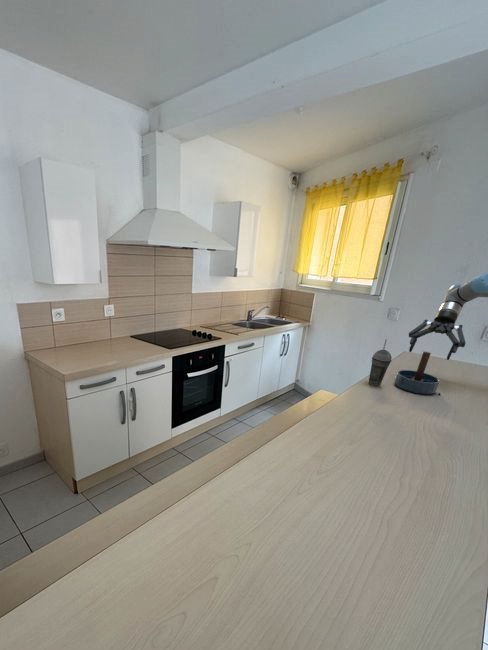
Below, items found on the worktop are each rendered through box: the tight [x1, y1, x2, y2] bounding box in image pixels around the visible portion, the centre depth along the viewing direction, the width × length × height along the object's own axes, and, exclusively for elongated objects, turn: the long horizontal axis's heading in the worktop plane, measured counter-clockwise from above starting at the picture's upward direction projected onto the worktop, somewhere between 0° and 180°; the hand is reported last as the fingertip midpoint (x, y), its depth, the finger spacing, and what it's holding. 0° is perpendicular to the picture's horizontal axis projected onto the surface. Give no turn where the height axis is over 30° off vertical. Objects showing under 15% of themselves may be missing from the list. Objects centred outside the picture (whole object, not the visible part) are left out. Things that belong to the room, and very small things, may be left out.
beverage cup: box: [368, 338, 392, 387], centre depth 137 cm, size 7×7×20 cm
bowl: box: [393, 369, 441, 395], centre depth 138 cm, size 15×15×6 cm
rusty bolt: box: [411, 351, 431, 382], centre depth 137 cm, size 5×5×15 cm
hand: (428, 354), depth 137 cm, fingers open, 13 cm apart
